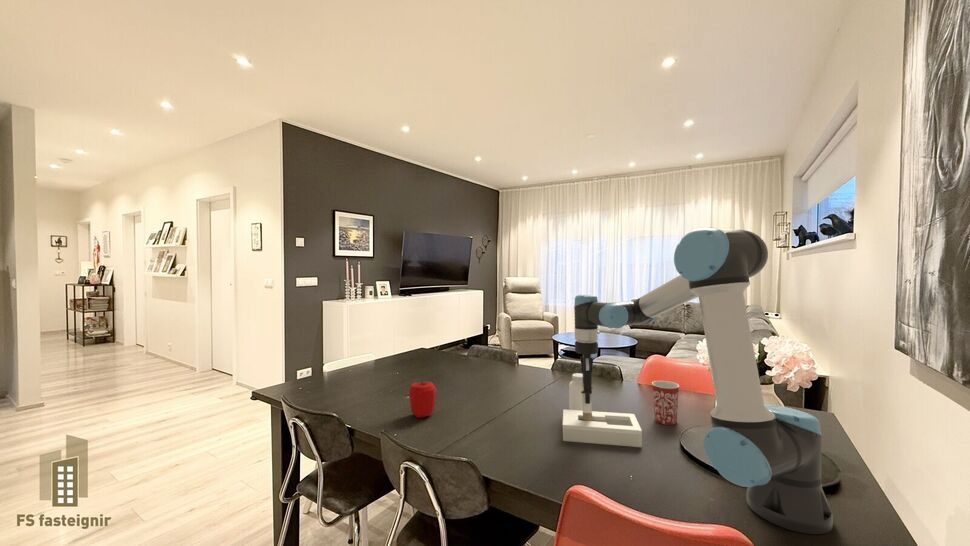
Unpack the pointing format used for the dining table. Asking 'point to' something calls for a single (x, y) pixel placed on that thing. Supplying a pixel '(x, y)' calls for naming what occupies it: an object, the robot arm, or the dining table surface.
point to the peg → (586, 415)
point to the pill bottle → (576, 392)
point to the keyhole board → (602, 428)
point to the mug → (665, 402)
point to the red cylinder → (422, 398)
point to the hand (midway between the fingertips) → (587, 410)
